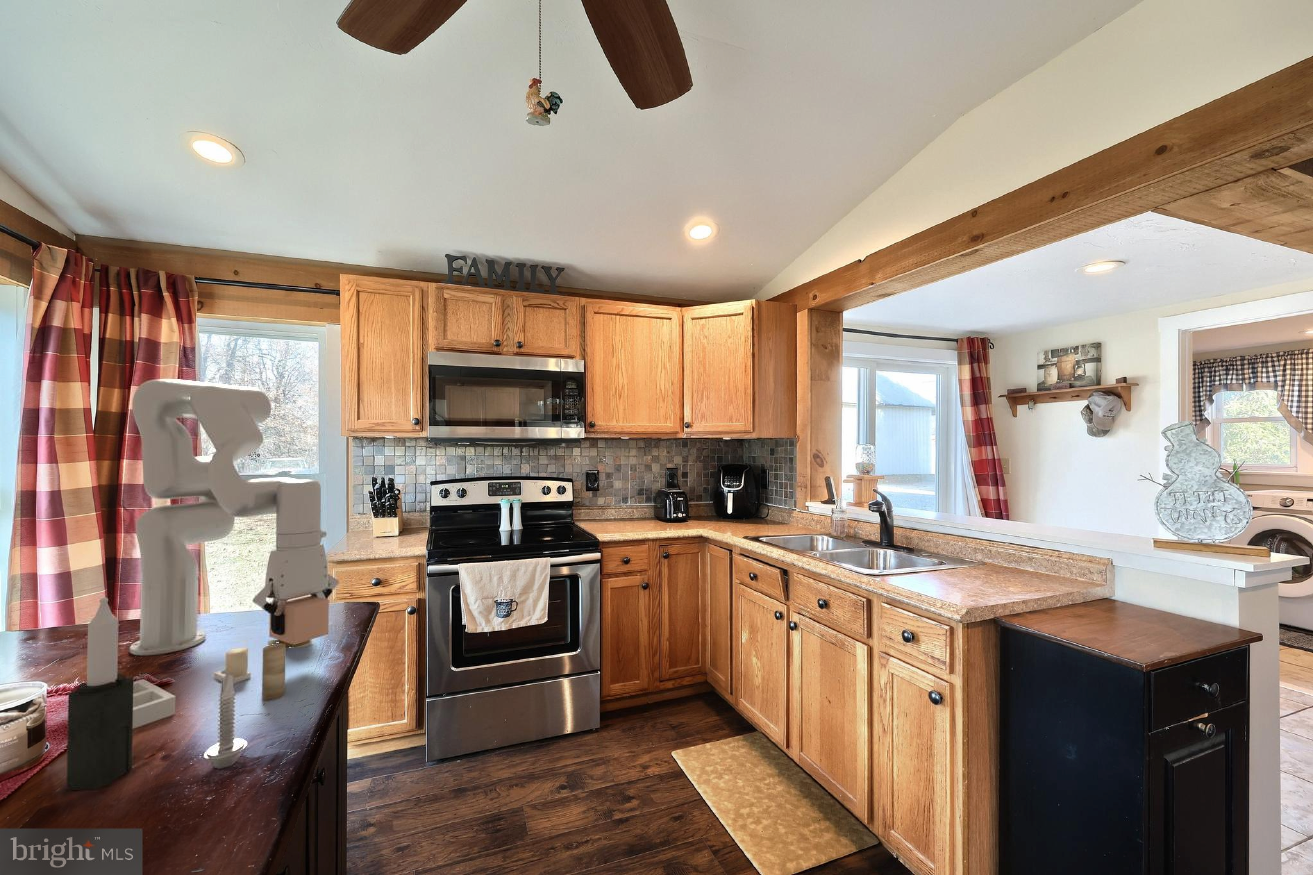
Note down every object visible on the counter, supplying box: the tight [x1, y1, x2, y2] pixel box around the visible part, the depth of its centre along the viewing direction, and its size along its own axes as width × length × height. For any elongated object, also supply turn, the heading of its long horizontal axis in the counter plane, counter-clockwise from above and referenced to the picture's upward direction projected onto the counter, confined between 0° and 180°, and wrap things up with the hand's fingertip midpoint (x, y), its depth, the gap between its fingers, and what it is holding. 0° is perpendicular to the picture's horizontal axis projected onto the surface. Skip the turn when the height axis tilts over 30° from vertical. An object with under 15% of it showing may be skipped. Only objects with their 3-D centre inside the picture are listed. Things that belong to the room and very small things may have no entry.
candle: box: [66, 597, 135, 791], centre depth 73 cm, size 5×5×25 cm
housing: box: [268, 595, 330, 645], centre depth 107 cm, size 9×6×7 cm
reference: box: [213, 647, 252, 685], centre depth 103 cm, size 6×4×6 cm, turn 62°
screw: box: [203, 674, 248, 770], centre depth 77 cm, size 13×5×5 cm
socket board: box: [133, 678, 176, 730], centre depth 90 cm, size 13×7×3 cm, turn 62°
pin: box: [261, 644, 287, 702], centre depth 96 cm, size 3×3×9 cm
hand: (298, 627), depth 107 cm, fingers closed on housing, 6 cm apart
